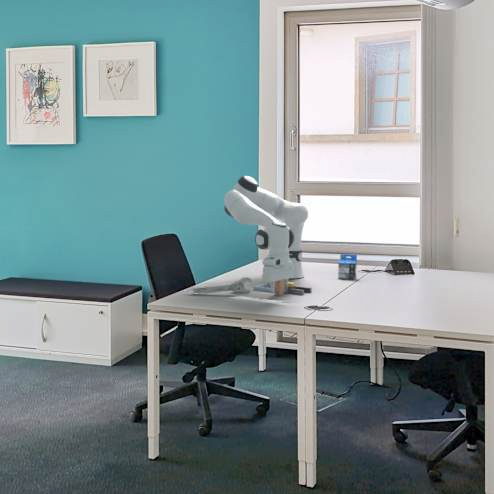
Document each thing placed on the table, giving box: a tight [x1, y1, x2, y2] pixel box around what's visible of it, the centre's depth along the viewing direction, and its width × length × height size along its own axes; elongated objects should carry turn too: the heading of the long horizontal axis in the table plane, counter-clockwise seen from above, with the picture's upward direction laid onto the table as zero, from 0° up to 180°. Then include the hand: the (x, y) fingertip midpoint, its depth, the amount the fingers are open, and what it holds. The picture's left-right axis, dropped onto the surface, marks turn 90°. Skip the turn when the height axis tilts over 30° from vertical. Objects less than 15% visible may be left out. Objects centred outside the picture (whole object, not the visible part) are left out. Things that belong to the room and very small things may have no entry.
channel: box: [284, 285, 313, 296], centre depth 322 cm, size 14×10×4 cm
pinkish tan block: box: [273, 279, 285, 296], centre depth 316 cm, size 3×4×10 cm
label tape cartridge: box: [337, 253, 358, 280], centre depth 368 cm, size 9×4×12 cm, turn 68°
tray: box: [252, 283, 272, 293], centre depth 329 cm, size 11×12×3 cm
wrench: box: [187, 276, 254, 294], centre depth 324 cm, size 8×2×30 cm
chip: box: [287, 281, 297, 289], centre depth 323 cm, size 4×4×4 cm
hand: (278, 290), depth 316 cm, fingers open, 7 cm apart
